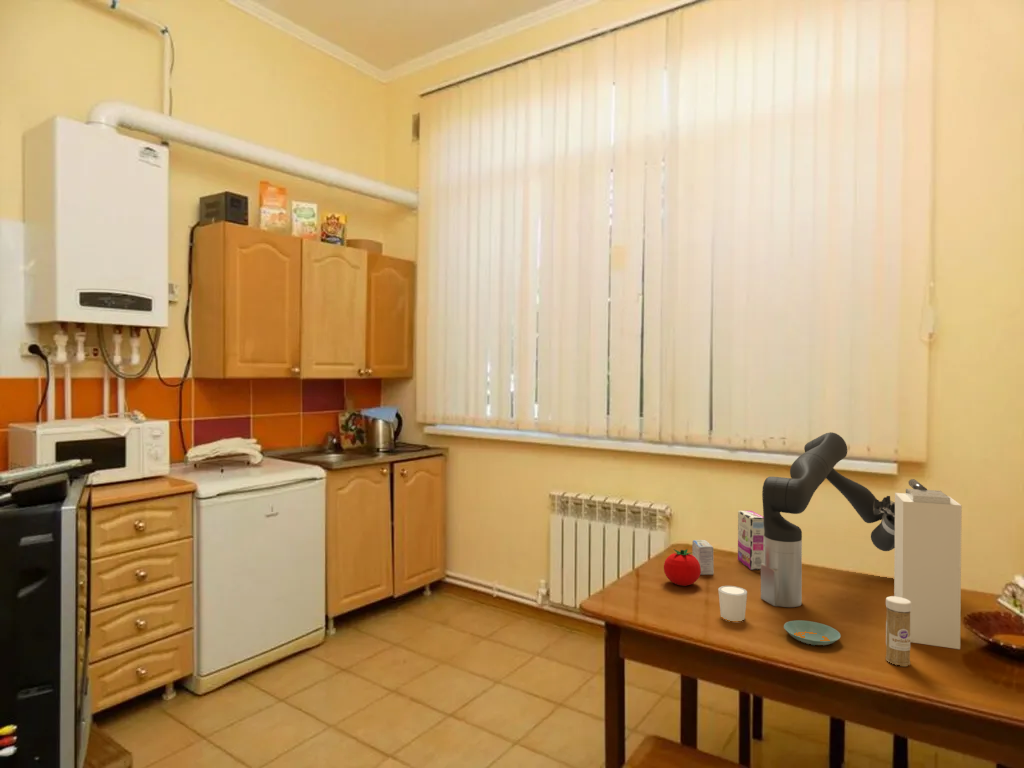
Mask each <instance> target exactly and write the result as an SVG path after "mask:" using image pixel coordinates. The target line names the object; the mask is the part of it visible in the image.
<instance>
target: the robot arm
mask: <svg viewBox="0 0 1024 768" xmlns="http://www.w3.org/2000/svg"><path fill="white" fill-rule="evenodd" d="M803 451H804V452H803V453H802V454H801V455H799V456H798V457H797V458H796V459H795V460H794V462H793V463H791V466H790V468H789V475H790V478H789V477H780V476H768V477H766V479H765V480H764V482H763V485H762V492H761V493H762V494H761V496H762V511H763V512H762V516H763V523H764V563H763V564H761V570H760V599H761V600H763V601H765V602H766V603H768V604H770V605H771V606H773V607H783V608H795V607H796V608H797V607H800V606H801V605H802V604H803V602H802V600H803V599H802V593H803V590H802V586H803V581H802V580H803V578H802V574H803V573H802V572H803V571H802V566H803V565H802V563H803V561H802V560H803V559H802V555H803V553H802V552H803V551H802V550H803V549H802V548H803V542H802V541H803V532H802V529H801V528H800V526H799V525H796V524H794V523H792V522H791V521H789V520H788V519H786V518H784V516H783V515H782V514H781V513H785V514H792V515H798V514H802V513H803V512H805V511H806V509H807V507H808V506H809V504H810V503H811V500H812V497H813V496H814V495H815V492H816V491H817V489H818V488H819V487H820V485H821V484H822V483H823V482H825V480H827V481H828V482H829V483H830V484H831V485H832V486H833V487H834V488H835V489H836V490H837V491H838V492H839V493H841V494H842V496H843V497H844V498H845V499H846V500H847V502H848V503H849V504H850V505H851V506H852V507H853V510H855V511H856V513H857V514H858V516H859V517H860V518H861V519H862V520H863V521H864V523H866V524H873V523H876V522H878V521H879V522H880V521H881V522H880V523H879V524H878V525H877V526H875V528H874V529H873V530H872V531H871V533H870V540H871V542H872V544H873V546H874V547H875V548H876V549H878V550H880V551H883V552H890V551H892V550H895V501H892V500H891V495H886V497H885V496H884V497H883V498H882V499H881V500H880V499H877V498H876V496H875V495H874V494H873V492H872V491H870V489H869V488H867V487H866V486H864V485H863V484H860V483H858V482H856V481H854V480H852V479H850V478H848V477H846V476H844V475H843V474H841V473H840V472H838V471H837V470H836V469H835V468H834V467H835V466H836V465H837V464H838V463H840V461H842V460H844V459H845V458H846V457H847V455H848V445H847V443H846V441H845V439H844V438H843V437H842V436H841V435H839V434H838V433H836V432H830V431H829V432H826V433H824V434H822V435H820V436H818V437H816V438H814V439H812V440H810V441H809V442H807V443H806V444H805V445H804V450H803Z"/></svg>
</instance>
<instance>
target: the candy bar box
mask: <svg viewBox="0 0 1024 768" xmlns="http://www.w3.org/2000/svg"><path fill="white" fill-rule="evenodd" d="M737 514H738V515H737V560H738V562H740V563H741V564H742V563H743V566H745V567H746V566H747V567H746V568H748V569H749V570H750V571H761V564H763V563H764V523H763V515H761V514H758V512H755V511H754V510H738V511H737Z"/></svg>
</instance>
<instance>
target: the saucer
mask: <svg viewBox="0 0 1024 768" xmlns="http://www.w3.org/2000/svg"><path fill="white" fill-rule="evenodd" d="M783 629H784V630H785V631H786V632H787V633H788V634H789V635H790V636H791V637H792V638H793V639H795V640H797V641H798V642H800V641H801V642H800V643H803V644H805V643H806V645H809V644H811V645H810V646H815V645H823V646H827V645H830V644H834V643H835V642H837V641H838V640H840V638H841V636H842V635H841V633H840V632H839V631H838V630H837V629H836V628H833V627H832V626H830V625H827V624H824V623H820V622H817V621H810V620H801V619H799V620H798V619H797V620H790V621H786V622H785V623H784V624H783ZM805 631H806V632H813V633H817V634H809V633H805V635H802V636H805V638H801V637H800V636H796V635H794V633H796V632H797V633H798V632H805ZM801 634H802V633H801ZM822 636H825V637H827V638H828V639H829V640H830V641H820V640H824V638H822Z"/></svg>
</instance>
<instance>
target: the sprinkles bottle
mask: <svg viewBox="0 0 1024 768" xmlns="http://www.w3.org/2000/svg"><path fill="white" fill-rule="evenodd" d="M885 606H886V607H885V608H886V620H885V646H886V647H885V648H886V652H885V653H886V654H885V660H886V662H887V661H888V663H889V662H890V663H889V664H891V663H892V664H891V665H893V664H895V666H897V665H900V666H899V667H909V666H910V665H911V661H910V660H911V642H910V613H911V612H910V611H911V602H910V601H909V600H908V599H905V598H902V597H896V596H894V595H891V596H887V597H886V598H885ZM908 665H909V666H908Z"/></svg>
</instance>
